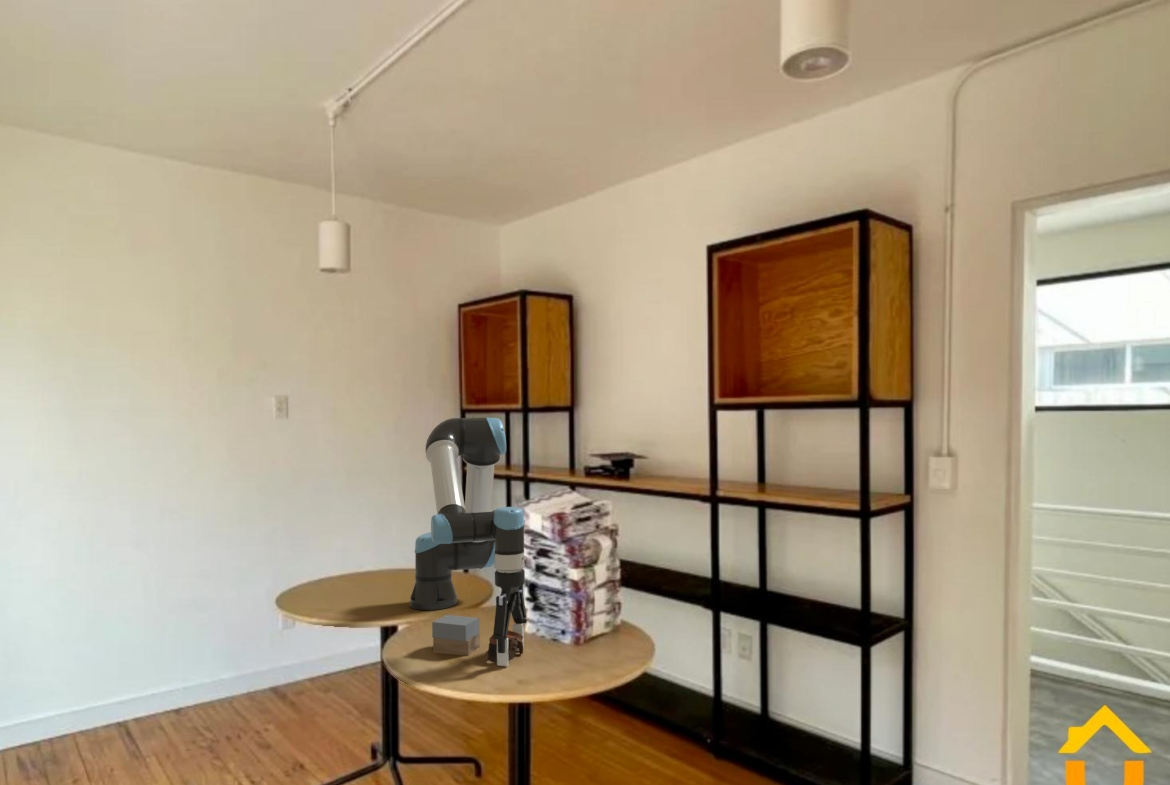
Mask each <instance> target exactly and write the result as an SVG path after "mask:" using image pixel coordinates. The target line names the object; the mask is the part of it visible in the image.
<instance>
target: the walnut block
mask: <svg viewBox="0 0 1170 785" xmlns="http://www.w3.org/2000/svg"><path fill="white" fill-rule="evenodd" d="M432 647H433V648H432V650H433V651H432V652H434V654H443V653H444V655H446V654H447V655H457V656H468V657H469V656H470V655H471V654H473V653H474V652H476V651H477V650H478V649H479V648H480V647H481V632H480V633H479V634H477V635H476V636H474V637H472V638H471V639H469V640H467V641H458V640H449V639H441V638H432ZM477 648H478V649H477ZM476 649H477V650H476ZM472 652H473V653H472Z"/></svg>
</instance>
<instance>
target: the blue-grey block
mask: <svg viewBox="0 0 1170 785" xmlns="http://www.w3.org/2000/svg"><path fill="white" fill-rule="evenodd" d="M431 628H432V630H431V631H432V632H431V633H432V634H431V635H432V636H431V637H432V639H433V638H441V639H449V640H458V641H467V640H469V639H471V638H472V637H474V636H476V635H477V634H479V633H480V634H481V632H480V617H476V616H475V617H471V616H464V615H463V616H462V615H453V614H445V615H443V616H442V617H439V618H438V619H436V620H433V621H432V624H431Z"/></svg>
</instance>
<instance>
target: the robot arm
mask: <svg viewBox="0 0 1170 785" xmlns="http://www.w3.org/2000/svg"><path fill="white" fill-rule="evenodd" d="M506 453H507V440H506V433H505V428H504V423H503V422H502V420H501V419H500V418H498V417H488V416H485V417H461V418H460V417H459V418H458V417H451V418H448V419H445V420H443V421H441V422H440V423H439V424H437V425H436V426H435V427H434V428H433V430H431V432H430V434H429V436H428V437H427V439H426V443H425V457H426V459H427V461H428V462H429V463H430V467H431V476H432V477H431V478H432V483H433V491H434V492H433V493H434V500H435V507H436V514H434V515H432V517H431V519H430V532H426V533H423V534H420V535H419V536H418V537H417V538H416V539H415V543H414V545H415V547H414V555H415V556H414V557H415V570H414V573H415V574H414V576H415V579H414V580H415V581H414V585H413V587H412V588H413V589H412V592H411V594H410V597H409V598H410V599H409V606H410V608H412V609H414V610H419V611H434V610H435V611H436V610H444V609H448V608H451V607H453V606H456V605H457V603H458V594H457V591H456V589H455V586H454V583H453V579H452V571H463V570H474V569H475V570H476V569H479V570H481V569H484V568H485V569H486V568H491V567H493V566H494V569H495V571H494V585H495V586H496V587H498V588H500V589H501V591H500V594H499V596H498V595H497V596H496V597H495V613H494V614H495V615H494V622H493V623H494V625H493V632H492V633H493V634H492V635H493V639H497V663H496V666H497V667H498V666H499V667H508V666H509V665H510V664H509V662H510V660H509V655H508V638H507V633H508V630H509V626H510V620H511V618H512V620H513V623H512V631H514V632H516V633H518V634H520V635H522V636H523V639H522V642H523V650H524V648H525V646H524V643H525V642H524V641H525V640H524V624H527V623H528V622H527V621H528V619H527V612H526V606H525V598H524V584H525V582H526V578H525V577H526V576H525V574H526V573H525V569H523V568H525V561H526V560H527V557H526V556H525V518H524V510H523V509H522V508H521V507H517V506H503V507H498V508H496V509H493V510H492V502H493V501H492V500H493V489H494V477H495V474H494V473H495V465H497V464H498V463H499V462H500V459H501V458H500V457H501V456H503V455H505V454H506ZM460 456H462V460H463V462H464V463H466V464H467V465H466V480H465V481H466V482H465V497H464V493H463V488H462V483H461V476H460V471H459V465H458V460H457V459H458V457H460ZM464 499H465V500H464ZM511 616H512V617H511ZM500 633H501V634H500ZM516 651H519V649H518V648H517V650H516Z"/></svg>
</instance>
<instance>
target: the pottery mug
mask: <svg viewBox="0 0 1170 785" xmlns="http://www.w3.org/2000/svg"><path fill="white" fill-rule="evenodd" d="M500 634H501V633H500ZM523 637H524V635H523V636H522V635H520V634H518V633H516V632H514V631H513V630H510V629H508V633H507V638H508V655H509V661H511V660H513V659H514V657H515V655H516V654H515V653H516V652H517V651H519V652H518V653H519V655H523V653H524V649H523V642H522V639H523ZM517 648H518V649H519V650H517ZM484 659H485V661H488V662H492V663H495V664H497V639H493V634H492V635H491V636H490V637H489V644H488V650H486V651H485V658H484Z"/></svg>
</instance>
